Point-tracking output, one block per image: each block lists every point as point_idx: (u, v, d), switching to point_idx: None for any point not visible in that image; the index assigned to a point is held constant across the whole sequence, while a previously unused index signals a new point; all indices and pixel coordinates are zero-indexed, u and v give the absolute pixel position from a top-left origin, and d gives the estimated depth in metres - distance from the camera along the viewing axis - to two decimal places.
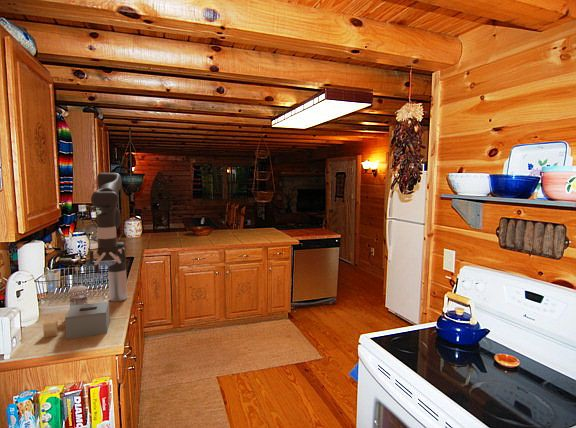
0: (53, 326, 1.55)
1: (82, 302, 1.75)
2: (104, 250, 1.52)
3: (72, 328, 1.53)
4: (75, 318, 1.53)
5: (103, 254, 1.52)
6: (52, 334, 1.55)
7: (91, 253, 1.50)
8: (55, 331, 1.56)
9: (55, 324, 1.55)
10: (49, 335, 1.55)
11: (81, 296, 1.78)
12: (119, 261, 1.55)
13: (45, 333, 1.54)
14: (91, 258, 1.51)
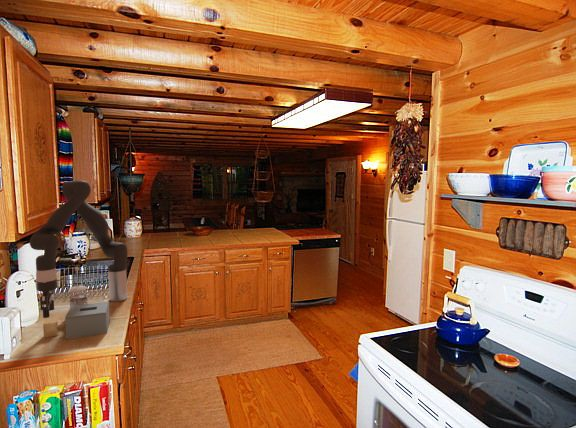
0: (53, 326, 1.55)
1: (82, 302, 1.75)
2: (49, 292, 1.53)
3: (72, 328, 1.53)
4: (75, 318, 1.53)
5: (52, 295, 1.53)
6: (52, 334, 1.55)
7: (47, 298, 1.48)
8: (55, 331, 1.56)
9: (55, 324, 1.55)
10: (49, 335, 1.55)
11: (81, 296, 1.78)
12: (53, 299, 1.59)
13: (45, 333, 1.54)
14: (47, 303, 1.48)
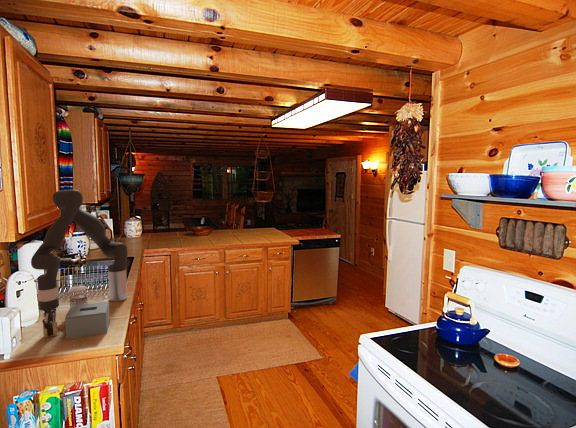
0: (53, 326, 1.55)
1: (82, 302, 1.75)
2: (51, 311, 1.54)
3: (72, 328, 1.53)
4: (75, 318, 1.53)
5: (53, 314, 1.54)
6: None
7: (49, 320, 1.50)
8: (55, 331, 1.55)
9: (55, 324, 1.55)
10: None
11: (81, 296, 1.78)
12: None
13: (45, 333, 1.54)
14: (50, 323, 1.51)
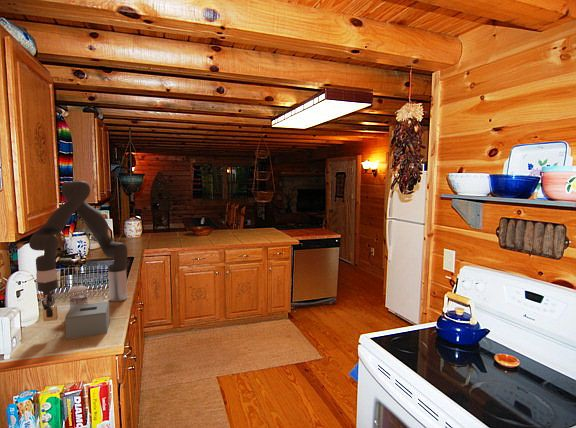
0: (52, 310, 1.54)
1: (82, 302, 1.75)
2: (50, 292, 1.53)
3: (72, 328, 1.53)
4: (75, 318, 1.53)
5: (53, 296, 1.53)
6: (52, 318, 1.54)
7: (48, 301, 1.49)
8: (54, 315, 1.55)
9: (54, 308, 1.54)
10: (48, 319, 1.54)
11: (81, 296, 1.78)
12: (53, 304, 1.56)
13: (44, 317, 1.53)
14: (49, 305, 1.50)
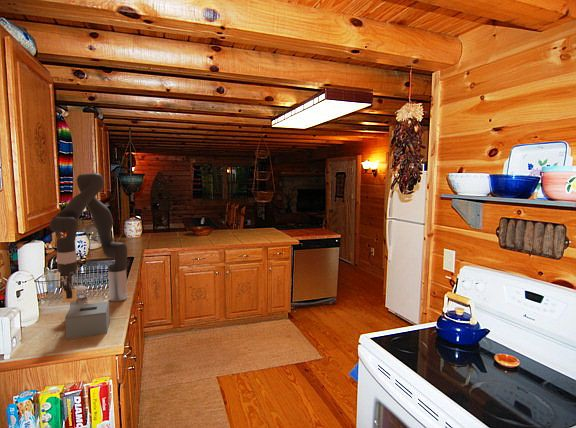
0: (72, 292, 1.57)
1: (82, 302, 1.75)
2: (70, 274, 1.55)
3: (72, 328, 1.53)
4: (75, 318, 1.53)
5: (72, 277, 1.56)
6: (71, 300, 1.57)
7: (68, 282, 1.52)
8: (74, 297, 1.58)
9: (74, 290, 1.57)
10: (68, 300, 1.57)
11: (81, 296, 1.78)
12: (72, 286, 1.59)
13: (64, 298, 1.56)
14: (69, 286, 1.53)
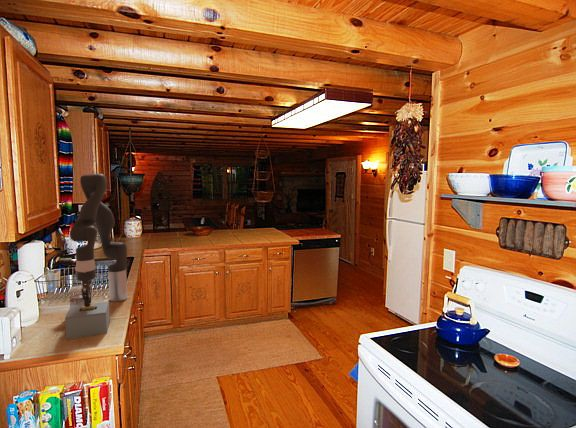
0: (91, 309, 1.61)
1: (82, 302, 1.75)
2: (89, 282, 1.59)
3: (72, 328, 1.53)
4: (75, 318, 1.53)
5: (91, 285, 1.59)
6: None
7: (88, 290, 1.55)
8: None
9: (93, 307, 1.61)
10: None
11: (81, 296, 1.78)
12: (91, 293, 1.63)
13: None
14: (88, 293, 1.56)
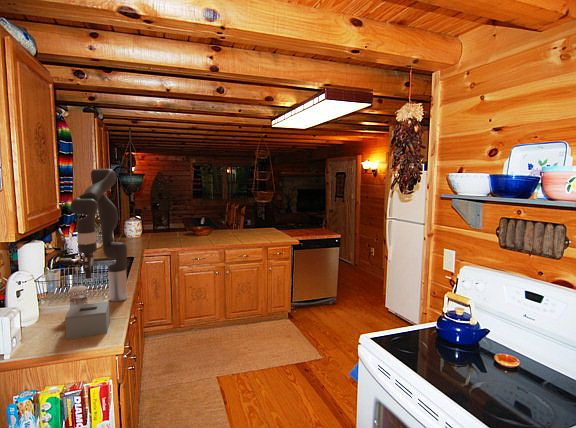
0: None
1: (82, 302, 1.75)
2: (90, 254, 1.60)
3: (72, 328, 1.53)
4: (75, 318, 1.53)
5: (92, 258, 1.60)
6: None
7: (89, 259, 1.56)
8: None
9: None
10: None
11: (81, 296, 1.78)
12: None
13: None
14: (89, 264, 1.56)
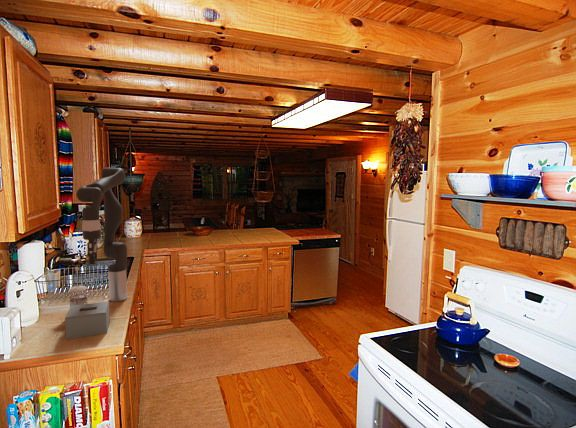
0: None
1: (82, 302, 1.75)
2: (94, 241, 1.66)
3: (72, 328, 1.53)
4: (75, 318, 1.53)
5: (96, 244, 1.66)
6: None
7: (93, 245, 1.61)
8: None
9: None
10: None
11: (81, 296, 1.78)
12: (96, 250, 1.72)
13: None
14: (93, 250, 1.61)
